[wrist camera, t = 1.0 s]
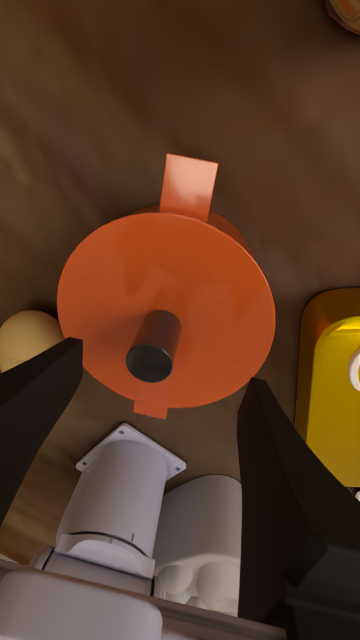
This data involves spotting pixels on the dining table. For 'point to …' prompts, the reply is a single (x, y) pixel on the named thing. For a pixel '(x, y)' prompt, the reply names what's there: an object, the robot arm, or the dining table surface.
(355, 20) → the sauce bottle
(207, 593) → the lumpy-topped squat cylinder
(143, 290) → the pot lid
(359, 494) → the spread jar
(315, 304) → the yellow square tin
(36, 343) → the potato
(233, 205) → the dining table surface
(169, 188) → the pot
